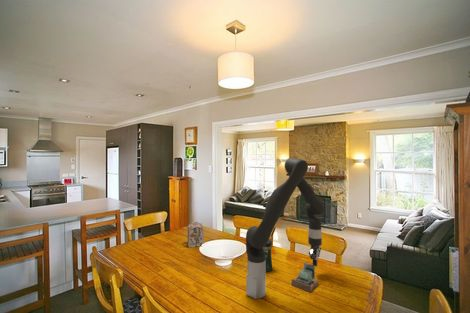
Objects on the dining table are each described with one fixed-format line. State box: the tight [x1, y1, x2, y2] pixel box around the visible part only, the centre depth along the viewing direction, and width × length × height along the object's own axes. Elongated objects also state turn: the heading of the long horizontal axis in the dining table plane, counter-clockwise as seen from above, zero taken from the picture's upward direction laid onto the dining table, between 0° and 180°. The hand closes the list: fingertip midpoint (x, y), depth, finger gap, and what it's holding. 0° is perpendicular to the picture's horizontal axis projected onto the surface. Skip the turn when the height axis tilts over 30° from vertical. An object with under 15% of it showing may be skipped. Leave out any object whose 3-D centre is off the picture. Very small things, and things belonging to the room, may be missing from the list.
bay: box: [291, 275, 319, 293], centre depth 127 cm, size 11×10×3 cm
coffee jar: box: [263, 238, 273, 272], centre depth 146 cm, size 10×8×19 cm
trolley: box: [297, 262, 316, 285], centre depth 128 cm, size 9×6×9 cm, turn 139°
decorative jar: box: [186, 221, 205, 248], centre depth 187 cm, size 12×12×18 cm
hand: (315, 265), depth 137 cm, fingers closed
